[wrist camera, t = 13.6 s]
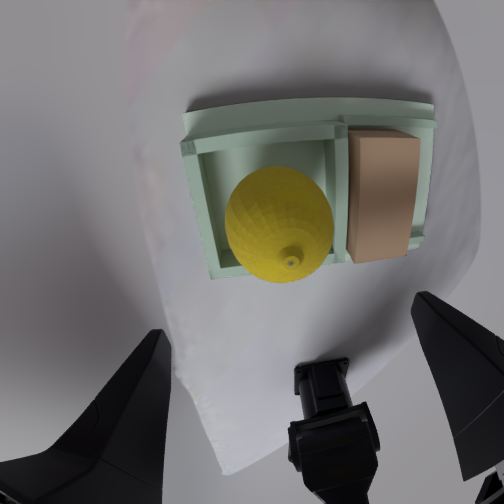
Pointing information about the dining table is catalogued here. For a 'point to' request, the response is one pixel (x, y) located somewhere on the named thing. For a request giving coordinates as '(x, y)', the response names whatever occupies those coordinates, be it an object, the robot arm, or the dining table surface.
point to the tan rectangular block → (380, 192)
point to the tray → (291, 158)
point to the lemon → (279, 224)
